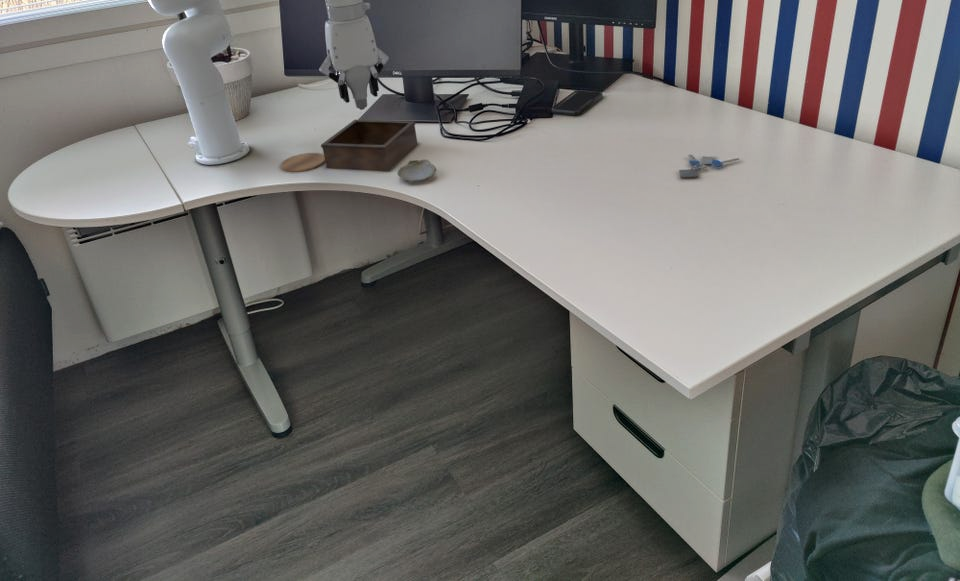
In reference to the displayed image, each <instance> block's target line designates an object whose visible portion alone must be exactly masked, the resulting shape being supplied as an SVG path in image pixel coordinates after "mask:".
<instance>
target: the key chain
mask: <svg viewBox="0 0 960 581" xmlns="http://www.w3.org/2000/svg"><path fill="white" fill-rule="evenodd" d="M687 157H688V158H689V159H690V160H688V163H689V164H691V165H693V166H694V167H693V168H692V167H691V169H679V170H678V173H679V176H680V177H681V178H694V177H698V175H699V174H698V171H702V170H705V169H707V168H711V167H717V168H720V167H723V165H724V164H727V163H732V162H736V161H739V160H740V158H739V157H737V158H731V159H726V160H723V161H720V160H718V159H714V157H712V156H704V155H703V156H702V157H701V162H700V160H697V159H696V157H694V155H693V154H690V153H689V154H687Z"/></svg>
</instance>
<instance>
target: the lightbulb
mask: <svg viewBox="0 0 960 581" xmlns="http://www.w3.org/2000/svg"><path fill="white" fill-rule="evenodd" d="M370 74H371V73H370V70H369V68H368V66H361V65H358V66H355V67H353V68H352V69H349V70H347V71H346V73H345V79H344V81H345V84H346V85H347V88H348V89H349V90H350V92H351V95H352V98H353V100H354V104H355V108H356V109H359V110H361V111H362V110H365V109H366V108H367V107H368V98H367V97H368V86H369V80H370Z"/></svg>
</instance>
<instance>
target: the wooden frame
mask: <svg viewBox="0 0 960 581" xmlns="http://www.w3.org/2000/svg"><path fill="white" fill-rule="evenodd" d="M417 138H418V137H417V132H416V121H415V120H414V121H413V120H411V121H410V120H380V119H353V120H352V121H351V122H349V123H348V124H347V125H345V126H344V127H342V129H340V130H338V131H337V132H336V133H335V134H333V135H332V136H331V137H329V138H328V139H326V140H325V141H323V143H321V144H320V148H321V149H322V153H323V156H324V157H325V162H324V163H325V166H326V169H341V170H342V169H343V170H361V171H378V172H390V171H391V170H392V169H393V168H394V167H395V166H396V165H398V164H399V162H400V161H401V160H403V159H404V158H405V157H406V156H407V155H408V154H409V153H411V151H412V150H413V149H415V148H416V147H417V145H418V139H417Z"/></svg>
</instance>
